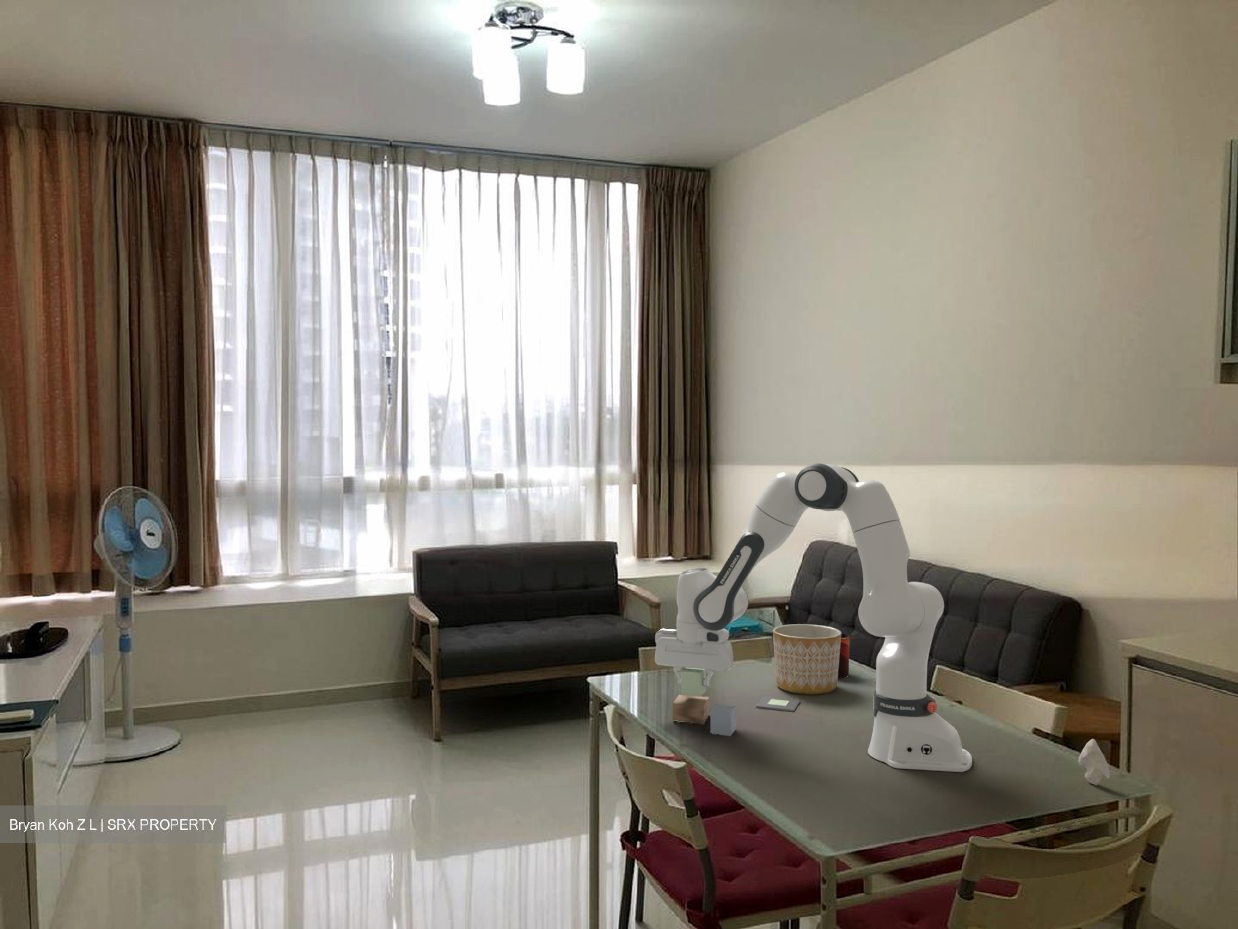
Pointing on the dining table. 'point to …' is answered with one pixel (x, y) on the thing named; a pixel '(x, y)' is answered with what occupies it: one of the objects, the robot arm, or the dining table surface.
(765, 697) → the card
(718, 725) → the slate block
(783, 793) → the dining table surface
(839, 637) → the planter
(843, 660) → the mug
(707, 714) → the walnut base
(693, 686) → the sage block
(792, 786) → the dining table surface
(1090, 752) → the arrowhead
